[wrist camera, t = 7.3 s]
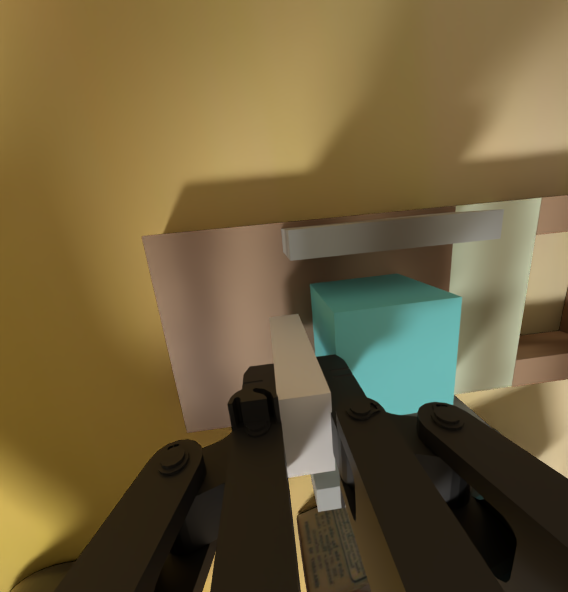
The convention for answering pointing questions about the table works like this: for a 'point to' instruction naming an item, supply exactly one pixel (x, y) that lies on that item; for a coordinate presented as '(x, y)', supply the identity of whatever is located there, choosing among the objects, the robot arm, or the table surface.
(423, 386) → the teal block
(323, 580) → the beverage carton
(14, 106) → the table surface
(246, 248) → the brown piece
